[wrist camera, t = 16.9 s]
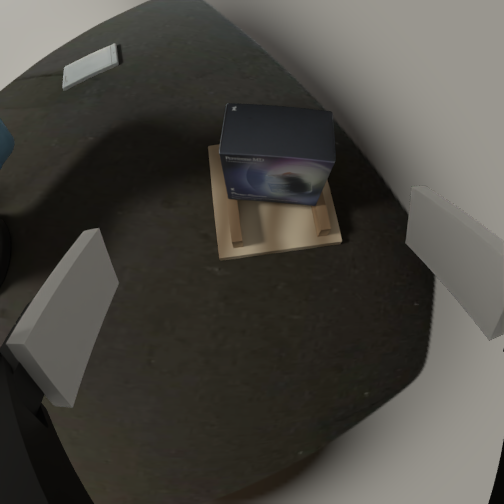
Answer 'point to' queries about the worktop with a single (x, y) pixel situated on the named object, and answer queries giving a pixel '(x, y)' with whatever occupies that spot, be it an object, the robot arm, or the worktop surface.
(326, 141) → the small box
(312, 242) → the tray
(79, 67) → the hard drive
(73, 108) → the worktop surface
